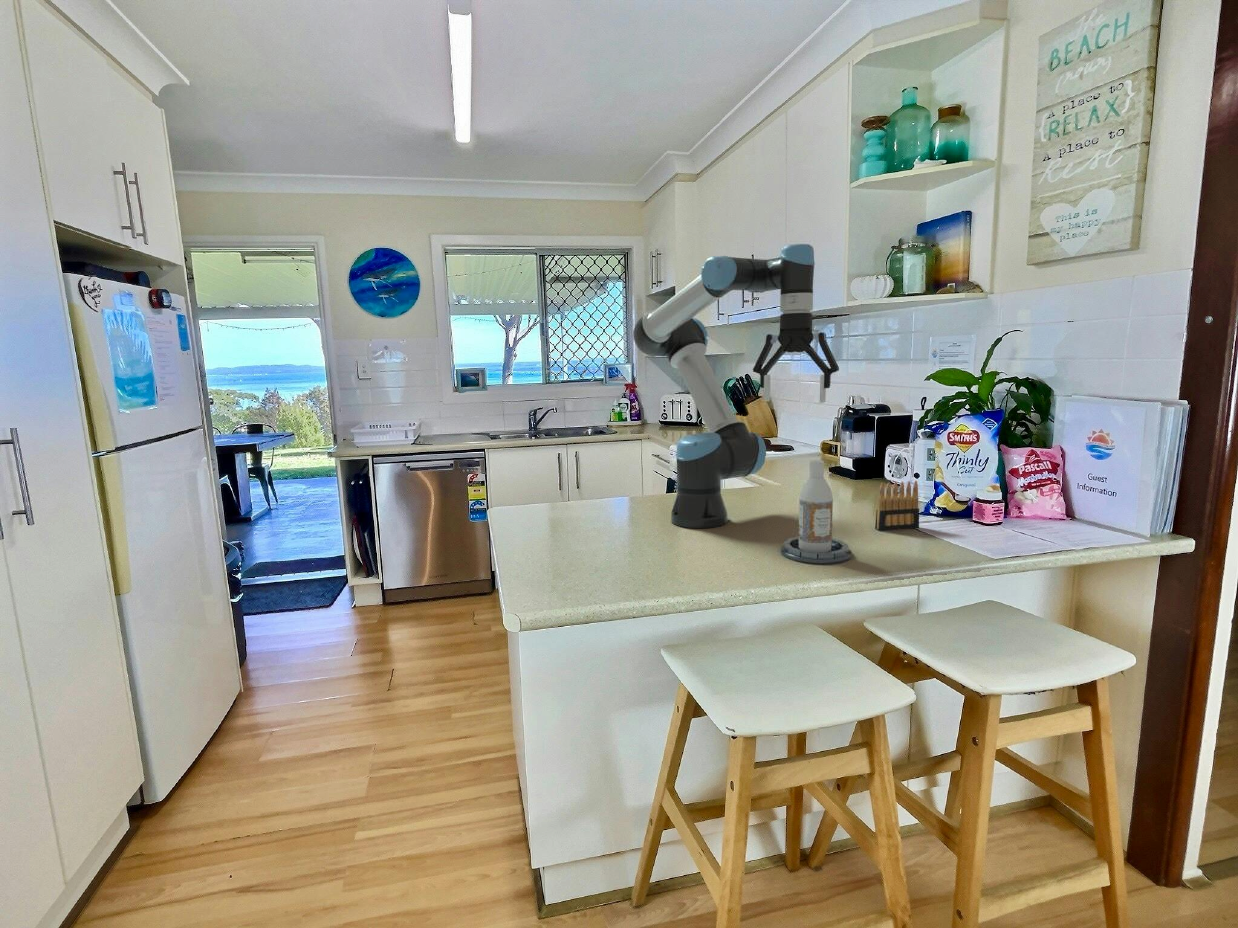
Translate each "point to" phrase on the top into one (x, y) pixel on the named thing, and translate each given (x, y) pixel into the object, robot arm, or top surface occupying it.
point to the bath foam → (815, 511)
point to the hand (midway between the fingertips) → (794, 401)
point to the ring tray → (834, 556)
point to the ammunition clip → (897, 508)
